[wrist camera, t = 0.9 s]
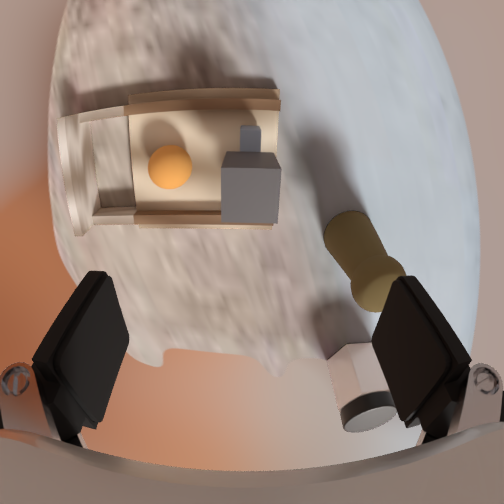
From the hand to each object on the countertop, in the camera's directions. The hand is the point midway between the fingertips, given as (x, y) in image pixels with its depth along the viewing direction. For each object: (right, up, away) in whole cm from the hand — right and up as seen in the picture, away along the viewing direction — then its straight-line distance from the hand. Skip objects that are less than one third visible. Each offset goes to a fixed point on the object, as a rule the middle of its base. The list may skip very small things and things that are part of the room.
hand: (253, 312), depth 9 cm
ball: (-7, +9, +15) cm, 19 cm away
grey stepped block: (0, +10, +17) cm, 20 cm away
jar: (+16, -15, +34) cm, 41 cm away
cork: (+11, +4, +23) cm, 25 cm away
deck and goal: (-9, +11, +18) cm, 23 cm away
